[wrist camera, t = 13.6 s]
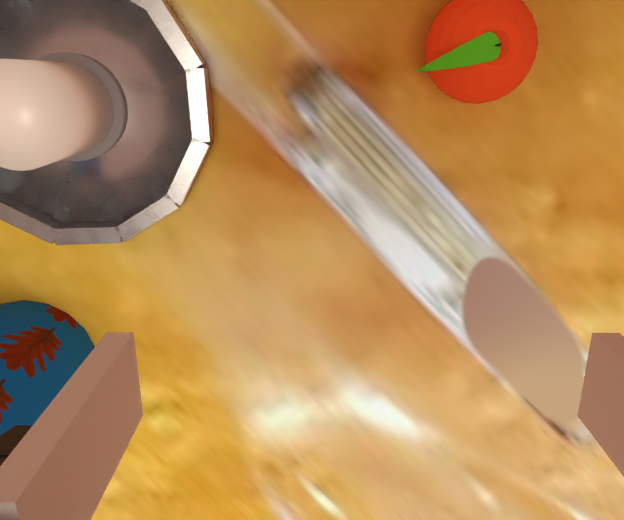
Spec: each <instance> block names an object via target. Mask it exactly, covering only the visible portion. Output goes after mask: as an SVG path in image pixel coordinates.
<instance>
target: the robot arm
mask: <svg viewBox="0 0 624 520" xmlns="http://www.w3.org/2000/svg"><path fill="white" fill-rule="evenodd" d="M142 416H143V412H142V403H141V394H140V386H139V377H138V369H137V360H136V352H135V343H134V334H133V333H106V334H105V335H104V336H103V338H102V339H101V340H100V342H99V343H98V344H97V345H96V347H95V348H94V349H93V350H92V352H91V353H90V354H89V355H88V357H87V358H86V359H85V360H84V362H83V363H82V364H81V365H80V367H79V368H78V369H77V370H76V372H75V373H74V374H73V375H72V377H71V378H70V379H69V380H68V382H67V383H66V384H65V386H64V387H63V388H62V389H61V391H60V392H59V393H58V394H57V396H56V397H55V398H54V399H53V401H52V402H51V403H50V404H49V406H48V407H47V408H46V409H45V411H44V412H43V413H42V414H41V416H40V417H39V418H38V419H37V421H36V422H35V423H34V424H33V425H15V426H14V427H12V428H11V429H9V430H8V431H6V432H5V433H3V434H2V435H0V520H91V518H92V516H93V514H94V512H95V510H96V508H97V506H98V504H99V502H100V500H101V498H102V496H103V494H104V492H105V490H106V488H107V486H108V484H109V482H110V480H111V478H112V476H113V474H114V472H115V470H116V468H117V466H118V464H119V462H120V460H121V458H122V456H123V454H124V452H125V450H126V448H127V446H128V444H129V442H130V440H131V438H132V436H133V434H134V432H135V430H136V428H137V426H138V424H139V422H140V420H141V418H142ZM578 417H579V418H580V419H581V421H582V422H583V423H584V425H585V426H586V427H587V429H588V430H589V431H590V433H591V434H592V435H593V437H594V438H595V439H596V441H597V442H598V443H599V444H600V446H601V447H602V448H603V450H604V451H605V452H606V454H607V455H608V456H609V458H610V459H611V460H612V462H613V463H614V464H615V466H616V467H617V468H618V470H619V471H620V472H621V473H622V475H623V476H624V337H623V336H622V335H621V334H620V333H592V338H591V343H590V349H589V355H588V360H587V366H586V371H585V377H584V383H583V388H582V394H581V400H580V406H579V411H578Z"/></svg>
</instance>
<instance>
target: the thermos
mask: <svg viewBox="0 0 624 520" xmlns="http://www.w3.org/2000/svg"><path fill="white" fill-rule="evenodd" d="M94 348H95V347H94V345H93V344H92V342H91V340H90V338H89V336H88V334H87V333H86V331H85V329H84V328H83V327H81V326H80V325H79V324H78V323H77V322H76V321H75V320H74V319H73V318H72V317H71V316H70V315H69V314H67V313H65V312H63V311H61V310H59V309H56V308H54V307H52V306H50V305H48V304H44V303H38V302H31V301H18V302H12V303H7V304H2V305H0V435H2V434H3V433H5V432H6V431H8V430H9V429H11V428H12V427H14V426H15V425H33V424H34V423H35V422H36V421H37V419H38V418H39V417H40V416H41V414H42V413H43V412H44V411H45V409H46V408H47V407H48V406H49V404H50V403H51V402H52V401H53V399H54V398H55V397H56V396H57V394H58V393H59V392H60V391H61V389H62V388H63V387H64V386H65V384H66V383H67V382H68V380H69V379H70V378H71V377H72V375H73V374H74V373H75V372H76V370H77V369H78V368H79V367H80V365H81V364H82V363H83V362H84V360H85V359H86V358H87V357H88V355H89V354H90V353H91V352H92V350H93V349H94Z"/></svg>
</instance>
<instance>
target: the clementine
mask: <svg viewBox="0 0 624 520" xmlns="http://www.w3.org/2000/svg"><path fill="white" fill-rule="evenodd" d="M537 45H538V39H537V27H536V25H535V22H534V19H533V16H532V14H531V12H530V11H529V9H528V8H527V7H526V5H525V4H524V3H523V2H522V1H521V0H451V1H450V2H449V3H448V4H447V5H446V6H445V7H443V8H442V9H441V11H440V12H439V14H438V15H437V17H436V18H435V20H434V21H433V23H432V25H431V27H430V30H429V33H428V35H427V38H426V47H425V57H426V64H427V65H425V66H423V67H421V68H419V69H418V70H416V71H429V73H430V75H431V78H432V79H433V81H434V82H435V83H436V84H437V86H438V87H439V88H440V89H441V90H442V91H443V92H445V93H446V94H447V95H449V96H450V97H451V98H453V99H456V100H459V101H462V102H464V103H477V104H479V103H484V102H489V101H493V100H496V99H498V98H500V97H502V96H504V95H506V94H508V93H510V92H511V91H512V90H513V89H515V88H516V87H517V86H518V85H519V84H520V83H521V82H522V81H523V79H524V78H525V77H526V75H527V74H528V73H529V71H530V69H531V66H532V64H533V62H534V59H535V56H536V50H537Z"/></svg>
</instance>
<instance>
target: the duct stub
mask: <svg viewBox="0 0 624 520" xmlns="http://www.w3.org/2000/svg"><path fill="white" fill-rule="evenodd" d="M127 120H128V106H127V100H126V97H125V94H124V91H123V89H122V87H121V85H120V83H119V81H118V80H117V78H116V77H115V76H114V74H113V73H112V72H111V71H110V70H109V69H108V68H107V67H105V66H104V65H103V64H102V63H100V62H98V61H97V60H95V59H93V58H91V57H89V56H85V55H82V54H77V53H68V52H58V53H51V54H47V55H45V56H42V57H40V58H39V59H37V60H20V59H0V167H2V168H6V169H10V170H16V171H26V170H32V169H36V168H39V167H42V166H45V165H48V164H51V163H54V162H56V161H59V160H62V159H64V160H69V161H85V160H89V159H92V158H95V157H97V156H100V155H102V154H104V153H106V152H108V151H109V150H111V149H112V148H113V147H114V146H115V145H116V144H117V143H118V142H119V140H120V139H121V137H122V135H123V133H124V131H125V128H126V125H127Z"/></svg>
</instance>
